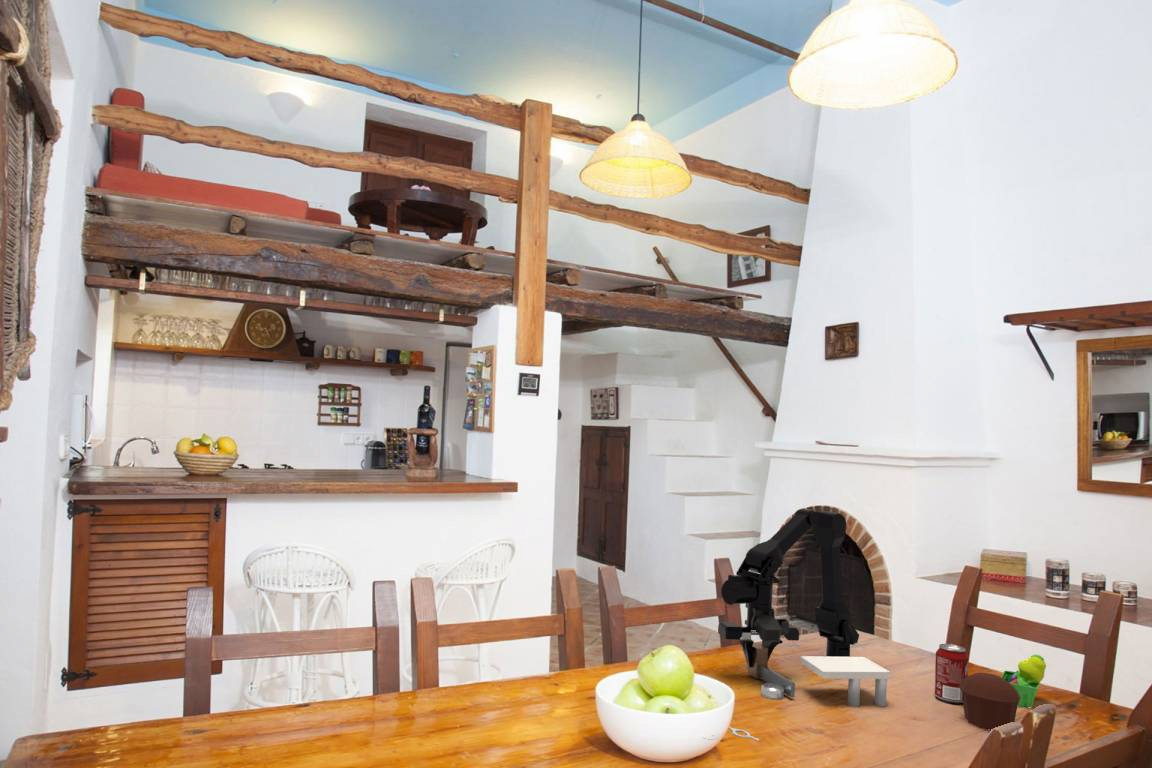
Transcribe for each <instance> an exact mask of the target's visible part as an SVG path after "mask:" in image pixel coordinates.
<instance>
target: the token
mask: <svg viewBox="0 0 1152 768" xmlns="http://www.w3.org/2000/svg"><path fill="white" fill-rule="evenodd" d="M760 686H761V687H760V696H762V697H764V698H765V699H769V700H776V701H777V700H778V701H779V700H783V699H784V697H785V693H784V687H783V686H781V685H778V684H773V683H767V682H765V683H762V684H761V685H760Z"/></svg>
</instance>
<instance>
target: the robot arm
mask: <svg viewBox="0 0 1152 768" xmlns="http://www.w3.org/2000/svg"><path fill="white" fill-rule="evenodd" d="M810 529H812V534H813V537H814V538H815V540H816V542H817V544H818V545H819V553H820V554H819V555H820V556H819V557H820V573H821V589H822V590H821V593H822V600H821V602H820V604H819V605H818V606H816V607H815V608H814V613H815V619H814V623H816V627H817V630H818V634H819V636H820V637H822V638H826V650H825V651H826V652H825V656H831V657H851V645H853V646H854V645H856V644H857V643H858V641H859V638H860V634H859V632H858V631H857V630H856V628H855V626H854V625H853V624H852V619H851V613H850V610H849V608H848V607H847V605H846V604H845V602H844V599H843V595H844V594H843V581H842V580H843V579H842V576H843V575H842V560H841V559H842V558H841V545H842V543H843V541H844V540H845V538H846V535H847V534H846V533H847V520H846V518H845V516H843V514H841V513H840V512H834V511H827V510H817V511H815V510H813V509H806V508H800V509H797V510H796V511H795V512H794V515H793V516H792V517H791V518H790V519H789V520H788V521H787V522H786V523H785V524H784V525H782V527H781V528H780V529H779V530H778V531H777V532H776V533H774V534H773V536H772V537H771V538H769V539H768V540H766V541H763V542H760V543H757V544H755V545H754V546H753V547H751V548H750V549H749V550H748V551H747V552H746V553H745V557H744V559H743V560H742V562H741V564H740V565H739V568H738V570H737V571H736V572H735V573H736V575H735V574H728V575H727V580H725V581H724V582H723V584H722V586H721V589H720V592H721V597H722V599H723V601H724V602H725V603H726V604H727V605H730V606H731V605H743V604H745V608H746V609H747V612H746V613H747V615H746V619H745V620H744V625H745V626H740V625H739V624H738V623H736V622H735V621H720V623H719V624H718V625H717V628H718V629H717V633H718V634H719V635H720V636H721V637H723V638H724V639H725V640H734V641H735V640H737V641H739V644H740V646H741V648H742V651H743V654H744V658H745V661H746V664H747V668H748V667H750V668H751V667H752V645H753V644H755V641H754V640H752V636H759V639H760V640H761V645H763V646H765V647H767V648H768V661H769V660H770V658H771V655H772V653H773V651H774V650H775V648H776V647H777V646H778V645H780V644H782V643H784V641H783V640H781V638H782V637H781V636H783V637H784V638H785V639H786V640H787V641H794V642H795V641H799V640H800V632H799V629H798V627H796V626H794V625H792V624H791V623H790V622H789V620H788V619H787V618H776V617H775V609H774V608H773V592H774V591H773V588H774V584H779V583H780V579H779V578H778V577H777V576H776V575H775V574H776V573H777V571H778V570H779V569H780V568H781V566H782V564H783V563H784V556H785V555H786V554H787V552H788V551H789V550H791V548H792V547H794V545H795V544H796V543H797V542H799V540H800V539H801V538H802V537H803V536H804V535H805V534H806V533H808V532H809V530H810Z"/></svg>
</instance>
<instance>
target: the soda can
mask: <svg viewBox="0 0 1152 768" xmlns="http://www.w3.org/2000/svg"><path fill="white" fill-rule="evenodd" d="M934 664H935V666H934V667H935V669H934V670H935V672H934V695H935V697H937V698H938V699H939V700H940V701H942V702H946V703H948V702H949V704H953V703H955V704H954V705H956V704H957V705H960V704H963V698H962V691H961V690H960V688H959V685H960V684H961V683H962V681H963V680H964V679H965V678H966V677H967V676H969V657H968V654H967V653H966V648H965V647H963V646H960V645H958V644H957V645H956V644H952V643H951V644H950V643H940V644H939V645H938V648H937V650H936V651H935V663H934Z"/></svg>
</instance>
